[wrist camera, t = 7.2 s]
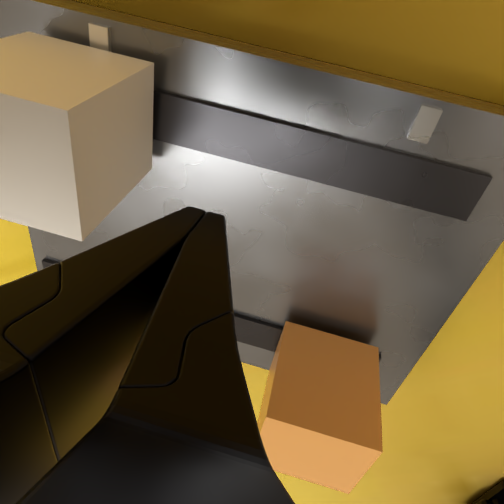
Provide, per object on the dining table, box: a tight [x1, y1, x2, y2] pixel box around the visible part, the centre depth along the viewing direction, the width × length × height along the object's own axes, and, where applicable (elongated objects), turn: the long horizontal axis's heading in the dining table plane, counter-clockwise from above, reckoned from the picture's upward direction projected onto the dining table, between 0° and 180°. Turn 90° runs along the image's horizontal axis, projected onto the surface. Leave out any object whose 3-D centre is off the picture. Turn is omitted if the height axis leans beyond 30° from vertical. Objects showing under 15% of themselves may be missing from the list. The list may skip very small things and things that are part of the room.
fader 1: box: [0, 31, 154, 241], centre depth 11 cm, size 4×4×4 cm
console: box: [0, 0, 504, 405], centre depth 16 cm, size 18×14×1 cm
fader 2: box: [257, 321, 383, 494], centre depth 16 cm, size 4×4×4 cm
